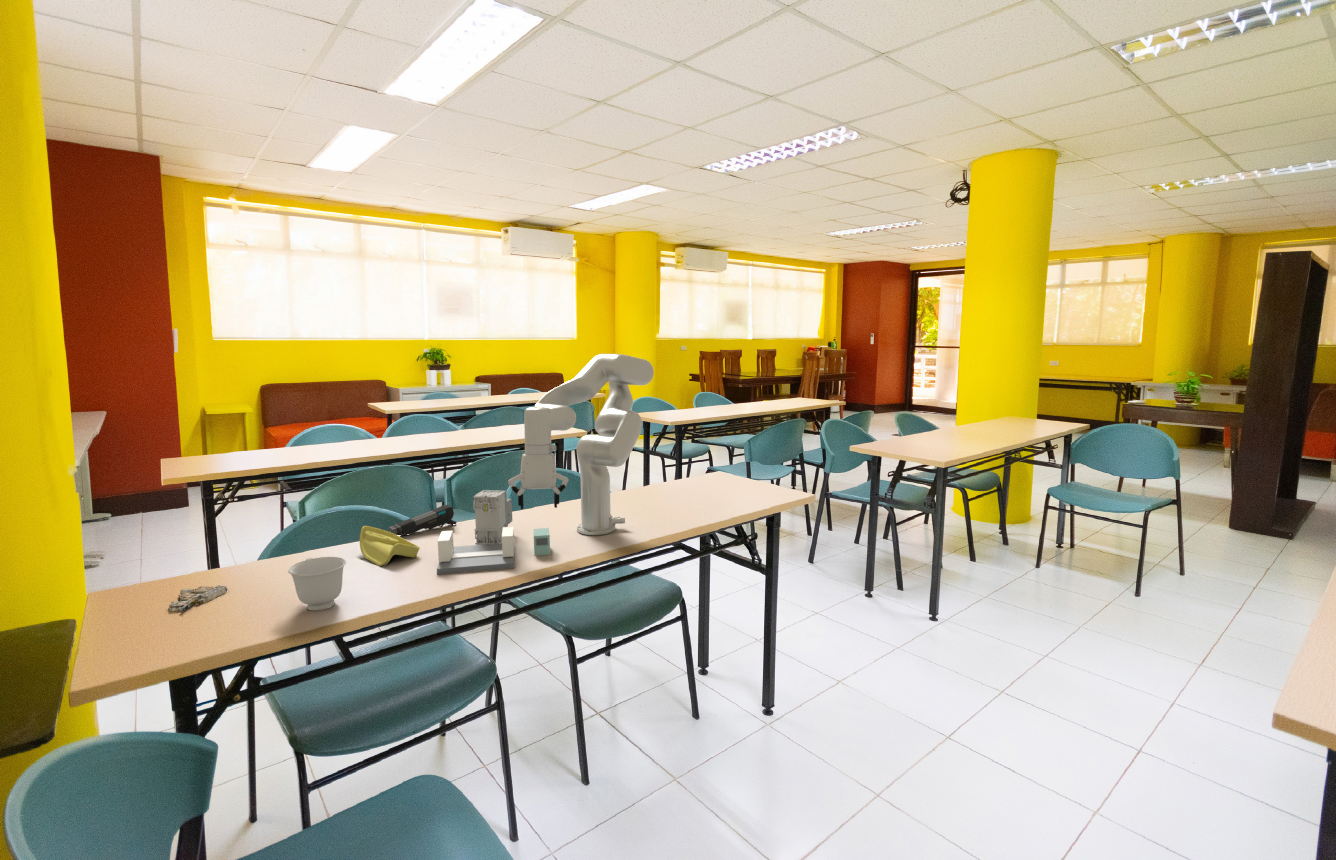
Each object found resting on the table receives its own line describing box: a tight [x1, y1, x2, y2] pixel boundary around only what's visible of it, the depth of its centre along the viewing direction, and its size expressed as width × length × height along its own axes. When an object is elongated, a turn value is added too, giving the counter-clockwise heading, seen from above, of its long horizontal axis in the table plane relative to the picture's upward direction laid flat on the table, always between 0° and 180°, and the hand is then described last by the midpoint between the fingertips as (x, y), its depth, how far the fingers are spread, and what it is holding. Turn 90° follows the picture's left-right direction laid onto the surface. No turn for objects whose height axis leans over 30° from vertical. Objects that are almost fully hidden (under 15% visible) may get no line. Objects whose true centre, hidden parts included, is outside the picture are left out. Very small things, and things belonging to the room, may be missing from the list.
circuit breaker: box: [472, 489, 513, 545], centre depth 201 cm, size 8×14×15 cm, turn 174°
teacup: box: [287, 556, 347, 611], centre depth 151 cm, size 12×15×10 cm
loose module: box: [532, 527, 551, 557], centre depth 188 cm, size 4×7×6 cm, turn 13°
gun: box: [388, 504, 457, 536], centre depth 208 cm, size 4×20×10 cm, turn 132°
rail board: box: [436, 526, 516, 575], centre depth 181 cm, size 20×18×8 cm
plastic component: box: [359, 525, 421, 567], centre depth 186 cm, size 20×7×10 cm
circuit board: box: [168, 584, 228, 613], centre depth 154 cm, size 12×15×2 cm
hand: (538, 507), depth 186 cm, fingers open, 9 cm apart
